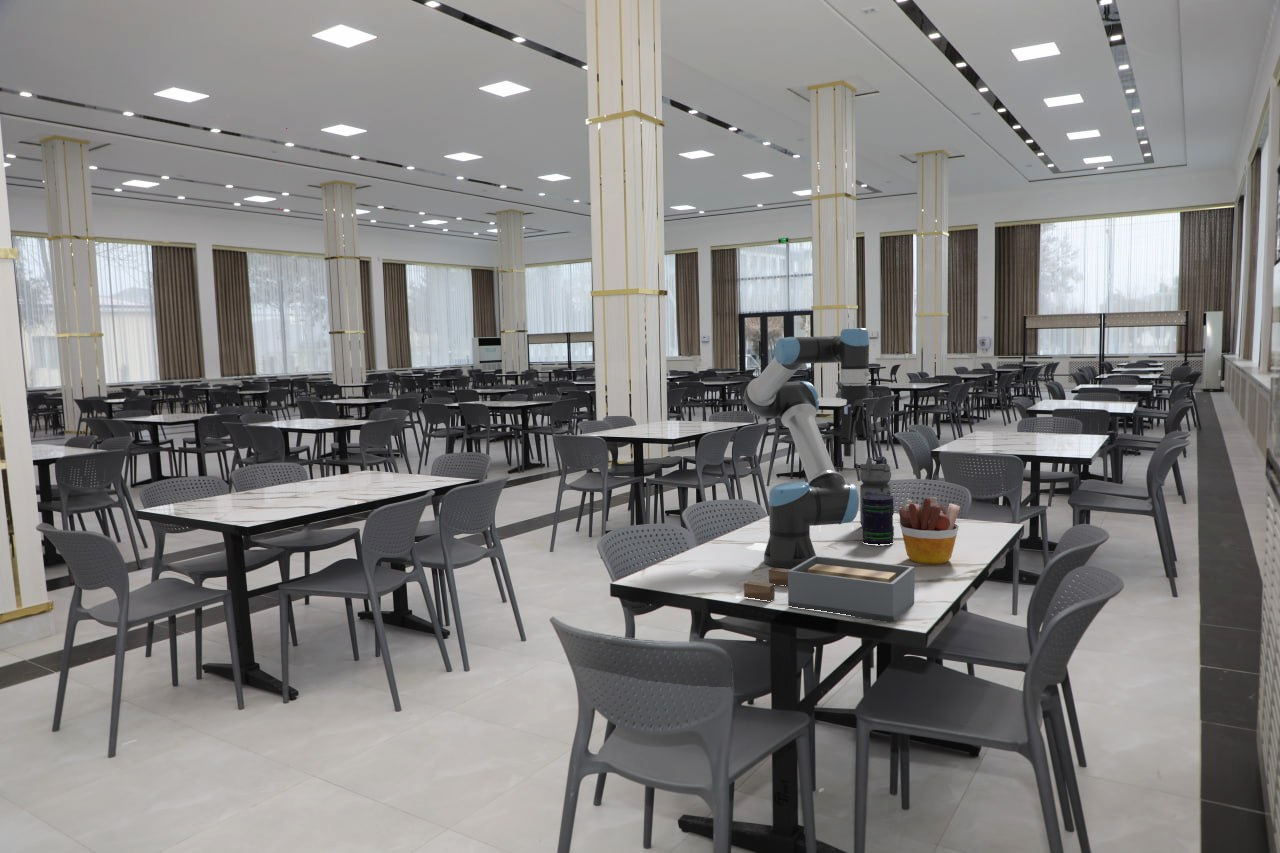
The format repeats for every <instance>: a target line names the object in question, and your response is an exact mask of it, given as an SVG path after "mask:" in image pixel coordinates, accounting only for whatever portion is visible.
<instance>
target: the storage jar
mask: <svg viewBox="0 0 1280 853" xmlns="http://www.w3.org/2000/svg"><path fill="white" fill-rule="evenodd" d="M862 500H863V501H862V514H863V526H861V527H862V528H861V530H862V531H861V536H862V541H863V542H864V543H868V544H878V545H880V544H890V543H893V542H894V537H895V532H894V531H895V527H894V518H893V517H894V513H895V512H894V508H895V504H894V496H892V495H891V496H889V495H865V496H862Z"/></svg>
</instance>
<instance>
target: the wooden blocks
mask: <svg viewBox="0 0 1280 853" xmlns="http://www.w3.org/2000/svg"><path fill="white" fill-rule="evenodd" d="M789 570H791V568H780V567H774V566H772V567H771V568H769V569H768V582H764V581H763V582H762V581H758V580H757V581H755V580H747V581H746V582H744V583H743V598H744V597H748V598H755V599H760V600H767V601H771V600H773V599H774V598H775V592H776V591H775V586H776V585H784V586H785V585H786V586H788V571H789ZM774 584H775V585H774ZM775 599H776V598H775ZM773 601H774V600H773ZM771 602H772V601H771Z"/></svg>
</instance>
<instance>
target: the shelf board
mask: <svg viewBox="0 0 1280 853" xmlns="http://www.w3.org/2000/svg"><path fill="white" fill-rule="evenodd" d="M808 573H814V574H822V575H830V576H838V577H846V578H855V579H863V580H871V581H879V582H888V583H891V582H892V581H894V580H895V579H896V573H892V572H883V571H875V570H866V569H857V568H849V567H840V566H831V565H823V564H816V565H814V566H812V567H811V568H809V569H808Z"/></svg>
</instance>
